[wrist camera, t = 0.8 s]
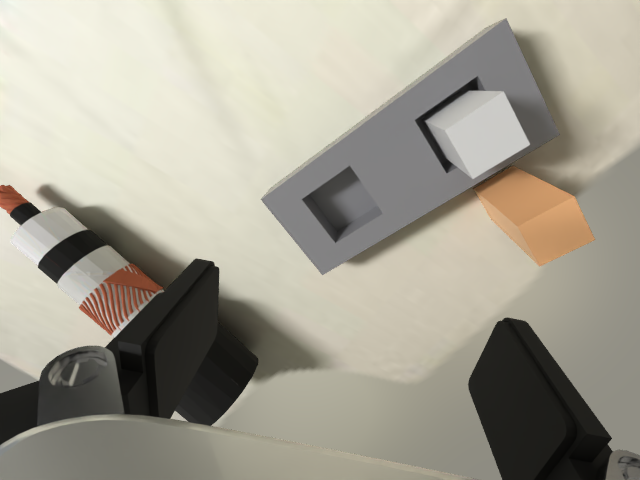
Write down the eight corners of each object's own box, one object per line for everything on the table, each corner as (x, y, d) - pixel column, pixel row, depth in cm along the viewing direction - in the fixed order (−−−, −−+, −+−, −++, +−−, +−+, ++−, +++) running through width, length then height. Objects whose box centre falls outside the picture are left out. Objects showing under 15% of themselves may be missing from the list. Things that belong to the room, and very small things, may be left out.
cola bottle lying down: (60, 153, 39) (-40, 165, 29) (268, 344, 43) (237, 406, 34) (28, 209, 42) (-71, 236, 33) (222, 380, 47) (184, 445, 38)
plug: (512, 165, 32) (574, 196, 23) (529, 198, 33) (595, 239, 24) (473, 188, 33) (517, 226, 24) (491, 219, 34) (539, 266, 25)
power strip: (486, 27, 28) (549, -3, 19) (535, 129, 30) (611, 146, 21) (270, 188, 35) (241, 222, 26) (325, 257, 38) (316, 309, 29)
